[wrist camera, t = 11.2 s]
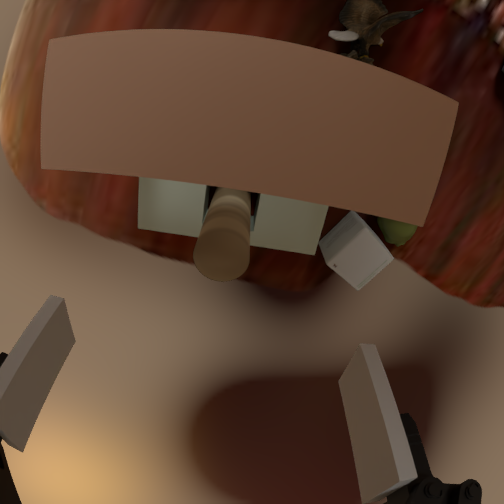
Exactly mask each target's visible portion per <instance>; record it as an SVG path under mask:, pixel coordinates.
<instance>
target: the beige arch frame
mask: <svg viewBox="0 0 504 504" xmlns="http://www.w3.org/2000/svg"><path fill="white" fill-rule="evenodd" d="M458 105H459V103H458V102H456V101H454V100H453V99H451V98H449V97H447V96H445V95H443V94H441V93H438V92H436V91H434V90H432V89H430V88H428V87H426V86H423V85H421V84H419V83H417V82H414V81H412V80H410V79H407V78H405V77H402V76H400V75H397V74H395V73H392V72H390V71H387V70H384V69H381V68H379V67H376V66H373V65H370V64H367V63H364V62H361V61H358V60H355V59H352V58H349V57H345V56H342V55H338V54H335V53H331V52H328V51H324V50H320V49H316V48H312V47H308V46H303V45H299V44H294V43H290V42H285V41H280V40H274V39H268V38H262V37H256V36H249V35H242V34H234V33H225V32H214V31H201V30H180V29H141V30H120V31H107V32H97V33H88V34H81V35H74V36H67V37H61V38H56V39H50V40H49V45H48V52H47V58H46V66H45V74H44V84H43V95H42V111H41V169H53V170H69V171H82V172H95V173H106V174H117V175H127V176H137V177H146V178H155V179H163V180H172V181H180V182H187V183H195V184H202V185H209V186H216V187H223V188H230V189H236V190H243V191H249V192H255V193H261V194H267V195H273V196H279V197H284V198H290V199H295V200H301V201H306V202H311V203H317V204H322V205H327V206H332V207H337V208H342V209H346V210H351V211H356V212H361V213H365V214H370V215H374V216H379V217H383V218H388V219H392V220H396V221H400V222H405V223H409V224H413V225H417V226H421V227H423V225H424V222H425V219H426V217H427V214H428V211H429V208H430V205H431V203H432V200H433V197H434V194H435V191H436V188H437V184H438V181H439V178H440V175H441V172H442V168H443V165H444V161H445V158H446V154H447V151H448V147H449V143H450V139H451V135H452V131H453V127H454V123H455V119H456V114H457V109H458Z"/></svg>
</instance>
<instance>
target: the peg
mask: <svg viewBox="0 0 504 504" xmlns="http://www.w3.org/2000/svg"><path fill="white" fill-rule="evenodd" d="M250 218H251V192H249V191H243V190H236V189H230V188H223V187H217V188H216V191H215V193H214V196H213V199H212V201H211V204H210V207H209V209H208V212H207V215H206V217H205V220H204V223H203V226H202V228H201V231H200V234H199V237H198V240H197V242H196V245H195V248H194V252H193V259H194V263H195V266H196V267H197V269H198V270H199V271H200V272H201V273H202V274H203V275H204V276H206V277H207V278H209V279H212V280H215V281H221V282H223V281H230V280H234V279H236V278H238V277H239V276H241V275H242V274H243V273H244V272H245V271H246V269H247V267H248V265H249V259H250Z"/></svg>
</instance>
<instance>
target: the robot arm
mask: <svg viewBox="0 0 504 504" xmlns="http://www.w3.org/2000/svg"><path fill="white" fill-rule="evenodd" d="M74 343H75V338H74V335H73V331H72V328H71V324H70V321H69V317H68V313H67V309H66V304H65V300H64V298H60V297H57V296H53V295H50V297H49V298H48V299H47V301H46V302H45V303H44V304H43V306H42V307H41V309H40V310H39V311H38V313H37V314H36V316H35V317H34V318H33V320H32V321H31V322H30V324H29V325H28V327H27V328H26V329H25V331H24V332H23V334H22V335H21V337H20V338H19V340H18V341H17V343H16V344H15V346H14V347H13V349H12V350H11V352H10V353H9V355H8V354H6V353H3V352H2V353H1V354H0V504H22V503H21V501H20V498H19V496H18V493H17V491H16V488H15V485H14V482H13V479H12V476H11V473H10V470H9V467H8V464H7V460H6V457H5V453H4V449H3V447H2V445H1V441H2V439H3V440H4V441H5V442H6V443H7V444H8V445H10V446H12V447H13V448H15V449H17V450H19V451H21V452H23V451H24V448H25V445H26V443H27V441H28V438H29V436H30V434H31V431H32V429H33V427H34V424H35V422H36V420H37V417H38V415H39V413H40V410H41V409H42V406H43V404H44V402H45V400H46V398H47V396H48V394H49V392H50V389H51V387H52V385H53V383H54V381H55V379H56V377H57V375H58V373H59V371H60V370H61V368H62V366H63V364H64V362H65V360H66V358H67V356H68V354H69V352H70V350H71V348H72V347H73V345H74ZM339 386H340V390H341V395H342V400H343V404H344V409H345V414H346V418H347V423H348V428H349V433H350V438H351V443H352V448H353V454H354V459H355V465H356V470H357V475H358V481H359V487H360V493H361V500H362V504H365V503H370V502H376V501H380V500H381V499H383V498H385V497H387V502H386V503H384V504H481V497H482V489H481V486H480V484H479V483H478V482H477V481H476V480H473V479H468V480H466V481H464V482H463V483H461V484H444V483H442V482H441V481H440V480H439V479H438V478H435V477H433V475H432V473H431V471H430V467H429V464H428V460H427V457H426V454H425V451H424V447H423V444H422V443H421V438H420V435H419V432H418V429H417V426H416V423H415V421H414V420H413V419H412V417H411V416H410V415H409V413H405V414H399V411H398V408H397V406H396V403H395V399H394V396H393V393H392V391H391V388H390V385H389V382H388V379H387V376H386V373H385V371H384V368H383V365H382V362H381V360H380V357H379V354H378V352H377V349H376V346H375V344H359V346H358V348H357V350H356V352H355V354H354V355H353V357H352V359H351V361H350V362H349V364H348V366H347V368H346V369H345V371H344V373H343V375H342V376H341V378H340V380H339Z"/></svg>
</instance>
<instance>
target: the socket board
mask: <svg viewBox="0 0 504 504" xmlns="http://www.w3.org/2000/svg"><path fill="white" fill-rule="evenodd" d="M209 193H210V186H209V185H202V184H195V183H187V182H180V181H172V180H163V179H155V178H146V177H139V197H138V228H139V229H145V230H152V231H159V232H166V233H172V234H179V235H186V236H192V237H199V234H200V231H201V228H202V226H203V223H204V220H205V217H206V215H207V212H208V201H209ZM328 207H329V206H327V205H322V204H317V203H311V202H306V201H301V200H295V199H290V198H284V197H279V196H273V195H267V194H261V193H258V195H257V200H256V206H255V211H254V216H251V218H250V245H252V246H258V247H265V248H271V249H278V250H284V251H291V252H297V253H303V254H310V255H315V252H316V248H317V245H318V242H319V238H320V235H321V231H322V228H323V224H324V221H325V217H326V214H327V210H328Z"/></svg>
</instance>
